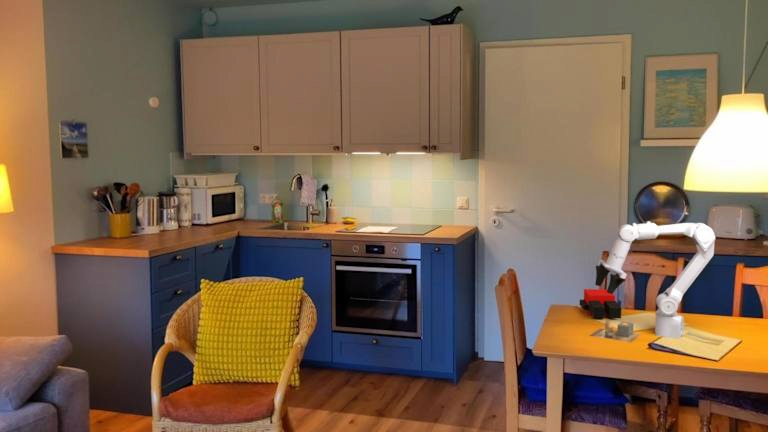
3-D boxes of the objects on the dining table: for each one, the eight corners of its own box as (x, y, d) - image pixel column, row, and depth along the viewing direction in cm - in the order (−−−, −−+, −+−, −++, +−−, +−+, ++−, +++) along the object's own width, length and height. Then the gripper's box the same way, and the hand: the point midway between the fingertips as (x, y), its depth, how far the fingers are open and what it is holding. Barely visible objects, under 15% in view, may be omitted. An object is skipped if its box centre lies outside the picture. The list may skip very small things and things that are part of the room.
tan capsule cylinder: (613, 336, 256) (613, 320, 255) (611, 338, 254) (611, 322, 253) (606, 335, 258) (606, 319, 257) (604, 337, 255) (604, 321, 255)
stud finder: (633, 333, 260) (633, 322, 260) (628, 337, 255) (628, 325, 255) (622, 332, 262) (622, 320, 262) (617, 335, 257) (617, 324, 257)
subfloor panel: (640, 337, 259) (640, 334, 259) (631, 345, 250) (631, 342, 249) (599, 331, 268) (600, 328, 268) (589, 338, 258) (589, 335, 258)
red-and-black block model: (588, 302, 280) (579, 288, 305) (588, 322, 281) (578, 307, 306) (627, 302, 278) (614, 289, 303) (626, 323, 279) (613, 308, 304)
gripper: (597, 246, 265) (584, 279, 268) (620, 259, 252) (606, 294, 255) (612, 251, 268) (599, 283, 270) (636, 264, 255) (621, 298, 257)
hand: (603, 289), depth 263 cm, fingers open, 7 cm apart
